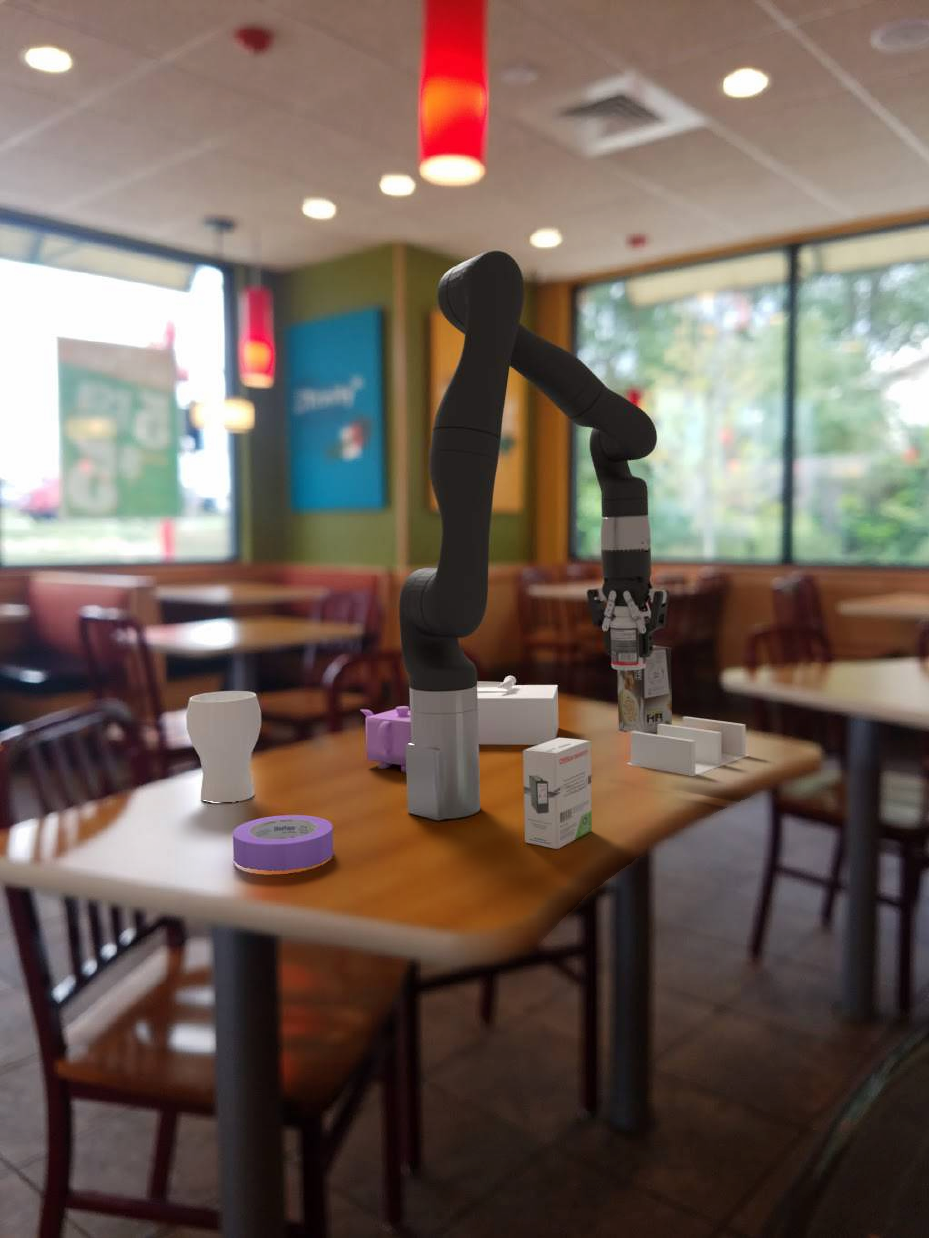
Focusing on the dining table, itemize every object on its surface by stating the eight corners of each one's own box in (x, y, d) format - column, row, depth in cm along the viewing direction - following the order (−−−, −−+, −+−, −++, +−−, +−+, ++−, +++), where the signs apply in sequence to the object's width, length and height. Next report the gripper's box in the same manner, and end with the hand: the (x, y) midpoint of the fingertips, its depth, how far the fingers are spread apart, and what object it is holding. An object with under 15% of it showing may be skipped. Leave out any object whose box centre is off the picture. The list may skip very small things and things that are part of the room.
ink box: (560, 824, 124) (558, 735, 123) (593, 831, 121) (592, 739, 120) (523, 843, 118) (521, 748, 116) (557, 850, 115) (555, 753, 113)
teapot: (474, 762, 159) (472, 703, 158) (427, 780, 148) (425, 717, 148) (389, 750, 169) (387, 695, 168) (339, 766, 158) (336, 708, 158)
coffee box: (673, 734, 176) (673, 647, 175) (645, 738, 174) (644, 650, 172) (644, 725, 185) (643, 642, 183) (616, 729, 182) (615, 645, 181)
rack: (693, 782, 143) (692, 742, 142) (626, 769, 151) (625, 732, 151) (749, 761, 155) (749, 724, 154) (685, 750, 163) (684, 715, 163)
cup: (277, 788, 146) (272, 690, 144) (242, 808, 136) (237, 703, 134) (214, 785, 149) (209, 689, 147) (176, 804, 138) (170, 701, 137)
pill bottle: (626, 664, 153) (625, 603, 152) (653, 667, 149) (652, 604, 148) (604, 668, 150) (602, 606, 149) (630, 672, 146) (629, 607, 145)
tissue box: (554, 746, 171) (553, 685, 170) (415, 745, 174) (414, 685, 173) (558, 729, 185) (557, 673, 184) (430, 728, 189) (428, 673, 188)
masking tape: (305, 837, 123) (304, 808, 122) (351, 861, 113) (350, 829, 113) (218, 857, 116) (216, 826, 115) (259, 884, 106) (258, 851, 106)
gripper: (573, 548, 150) (576, 656, 151) (652, 547, 140) (655, 662, 141) (601, 545, 155) (605, 649, 157) (679, 544, 145) (682, 655, 147)
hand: (628, 655), depth 149 cm, fingers closed on pill bottle, 5 cm apart
